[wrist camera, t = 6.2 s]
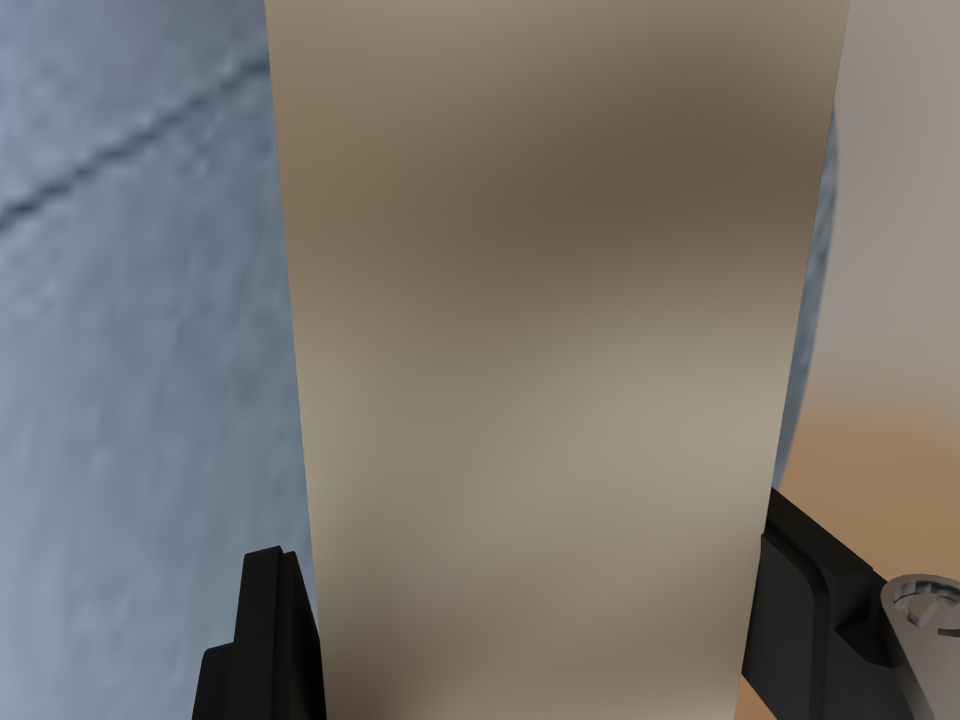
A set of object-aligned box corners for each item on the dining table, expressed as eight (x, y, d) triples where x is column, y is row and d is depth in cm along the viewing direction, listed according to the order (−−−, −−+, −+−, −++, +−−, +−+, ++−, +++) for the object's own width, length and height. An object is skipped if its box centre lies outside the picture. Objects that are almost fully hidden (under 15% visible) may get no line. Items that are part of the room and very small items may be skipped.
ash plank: (266, -112, 9) (241, -258, 6) (679, -82, 11) (880, -184, 7) (350, 917, 16) (365, 1159, 12) (598, 857, 17) (678, 1058, 14)
